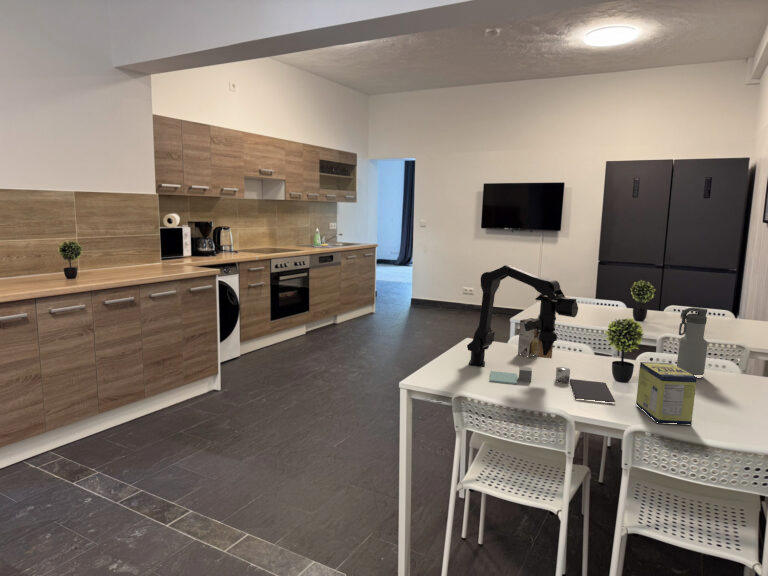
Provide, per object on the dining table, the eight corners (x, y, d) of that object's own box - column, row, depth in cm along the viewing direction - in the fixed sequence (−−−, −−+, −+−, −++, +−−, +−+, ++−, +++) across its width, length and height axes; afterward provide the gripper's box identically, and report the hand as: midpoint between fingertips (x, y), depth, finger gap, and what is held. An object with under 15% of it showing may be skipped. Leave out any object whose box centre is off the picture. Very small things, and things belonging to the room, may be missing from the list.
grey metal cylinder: (554, 378, 196) (555, 366, 196) (568, 380, 195) (569, 367, 195) (555, 382, 192) (557, 369, 191) (569, 384, 190) (570, 371, 190)
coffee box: (528, 351, 236) (531, 317, 234) (540, 354, 231) (543, 320, 229) (516, 354, 230) (519, 319, 228) (529, 357, 225) (531, 322, 223)
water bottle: (671, 374, 207) (678, 307, 203) (679, 370, 213) (687, 305, 209) (698, 380, 199) (707, 311, 196) (706, 376, 206) (715, 309, 202)
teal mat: (490, 372, 202) (490, 370, 202) (516, 374, 199) (516, 373, 199) (489, 381, 190) (489, 380, 190) (517, 384, 188) (517, 382, 188)
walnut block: (537, 353, 195) (538, 338, 194) (550, 354, 194) (551, 339, 193) (537, 357, 190) (539, 341, 189) (551, 358, 189) (553, 342, 188)
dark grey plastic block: (518, 377, 196) (519, 366, 196) (530, 378, 195) (531, 367, 195) (518, 381, 192) (519, 369, 192) (531, 382, 191) (531, 371, 190)
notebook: (569, 382, 194) (575, 401, 173) (570, 378, 193) (576, 397, 173) (605, 386, 190) (615, 406, 170) (605, 382, 190) (615, 402, 170)
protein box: (666, 407, 169) (671, 362, 167) (692, 426, 154) (698, 377, 152) (634, 405, 170) (639, 361, 168) (657, 424, 154) (663, 375, 152)
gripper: (524, 307, 200) (521, 345, 203) (526, 316, 182) (523, 357, 185) (554, 309, 198) (550, 348, 200) (558, 318, 180) (555, 360, 182)
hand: (544, 353), depth 192 cm, fingers closed on walnut block, 5 cm apart
